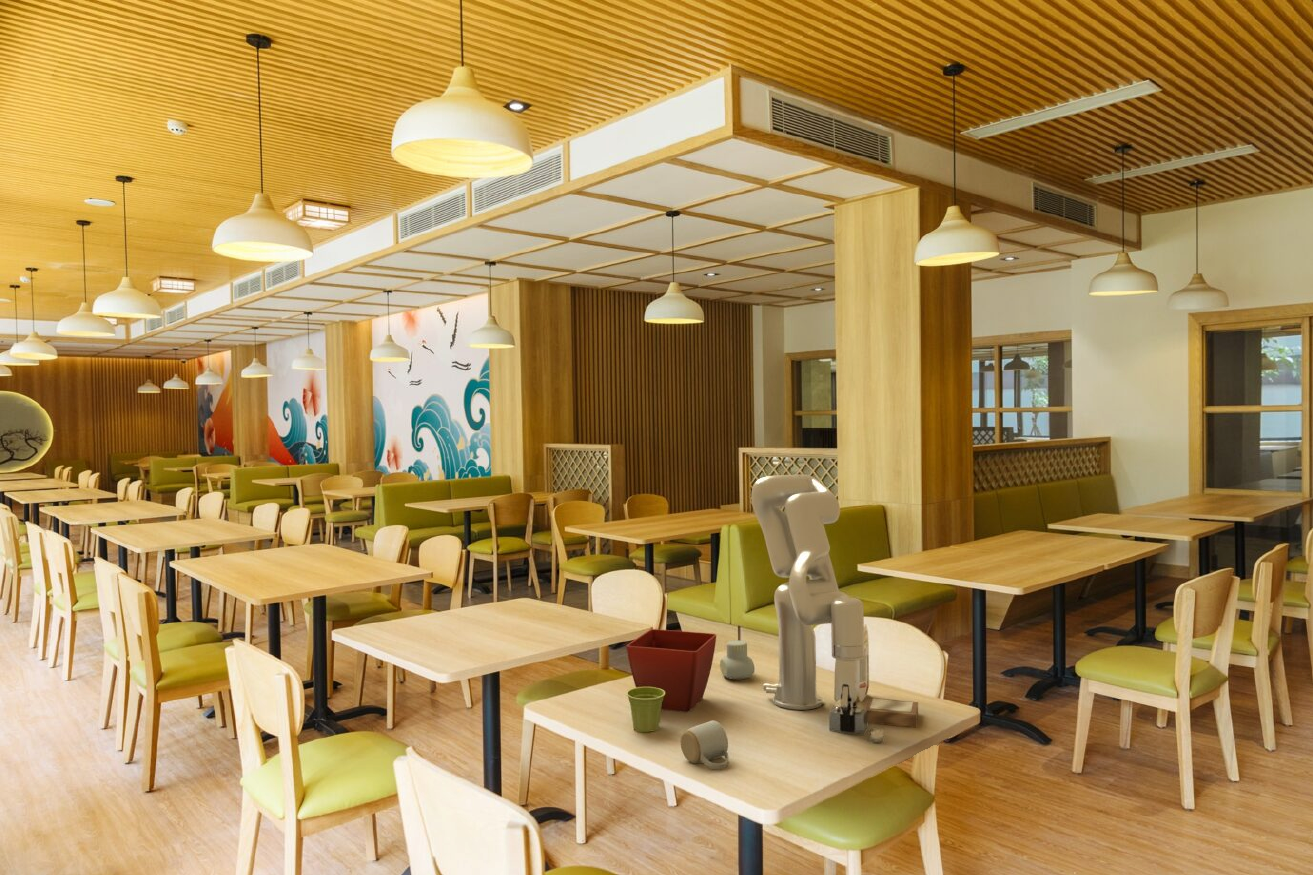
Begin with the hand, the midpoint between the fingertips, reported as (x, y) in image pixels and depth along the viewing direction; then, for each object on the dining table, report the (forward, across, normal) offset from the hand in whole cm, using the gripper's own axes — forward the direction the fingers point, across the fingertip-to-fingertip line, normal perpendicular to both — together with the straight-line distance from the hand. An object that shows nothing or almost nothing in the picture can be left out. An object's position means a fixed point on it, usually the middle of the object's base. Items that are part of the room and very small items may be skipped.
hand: (849, 726), depth 201 cm
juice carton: (+1, -25, -2) cm, 25 cm away
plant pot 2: (+1, -6, -46) cm, 47 cm away
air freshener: (+1, -34, -36) cm, 50 cm away
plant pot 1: (+1, +14, -46) cm, 48 cm away
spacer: (+1, +6, +7) cm, 9 cm away
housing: (+1, 0, 0) cm, 1 cm away
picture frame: (+1, -11, +9) cm, 14 cm away
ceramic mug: (+1, +29, -26) cm, 39 cm away
